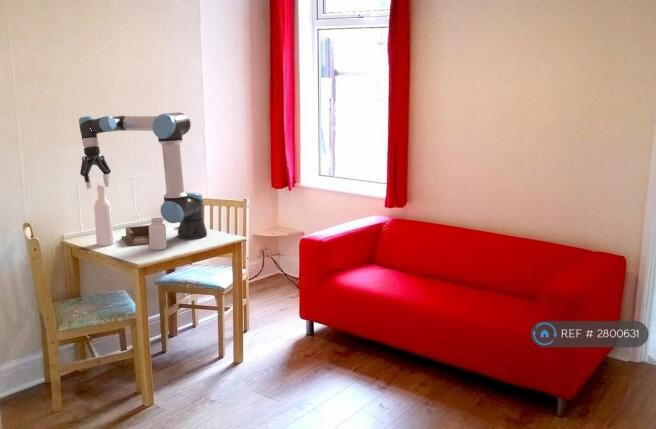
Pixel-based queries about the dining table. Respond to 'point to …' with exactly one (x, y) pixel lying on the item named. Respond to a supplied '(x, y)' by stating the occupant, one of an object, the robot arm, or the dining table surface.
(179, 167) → the robot arm
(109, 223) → the bottle
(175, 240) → the dining table surface
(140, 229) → the bottle rest
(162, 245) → the pill bottle
